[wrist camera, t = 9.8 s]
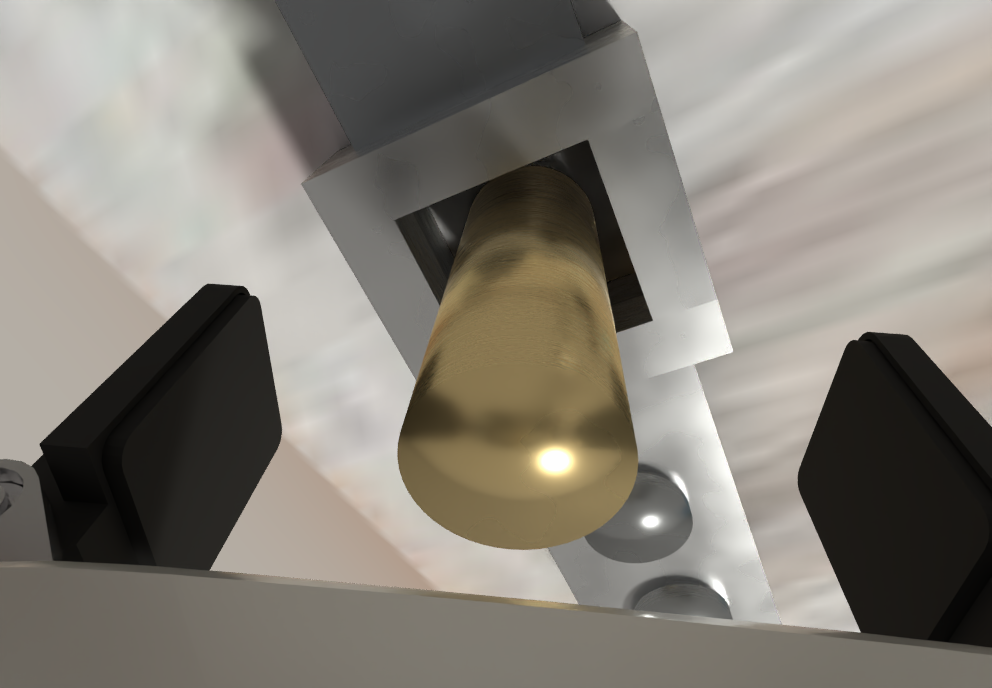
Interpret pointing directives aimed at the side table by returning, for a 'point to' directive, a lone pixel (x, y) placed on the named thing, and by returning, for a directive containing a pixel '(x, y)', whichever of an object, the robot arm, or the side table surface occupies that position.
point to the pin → (522, 376)
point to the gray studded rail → (634, 298)
